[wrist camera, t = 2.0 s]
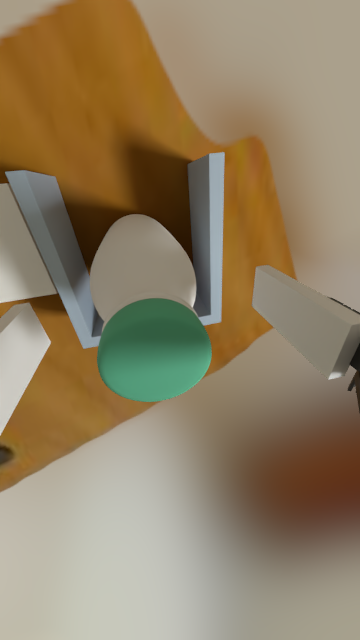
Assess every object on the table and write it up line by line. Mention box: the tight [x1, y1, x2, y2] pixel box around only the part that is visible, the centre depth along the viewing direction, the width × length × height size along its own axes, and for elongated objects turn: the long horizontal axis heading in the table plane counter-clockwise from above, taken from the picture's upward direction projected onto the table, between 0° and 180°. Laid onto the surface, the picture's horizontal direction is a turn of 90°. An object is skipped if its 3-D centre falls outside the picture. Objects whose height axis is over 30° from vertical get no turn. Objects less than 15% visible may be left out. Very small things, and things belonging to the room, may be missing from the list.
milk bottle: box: [90, 214, 212, 402], centre depth 16 cm, size 8×8×20 cm
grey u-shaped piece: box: [5, 152, 224, 349], centre depth 22 cm, size 15×15×7 cm
